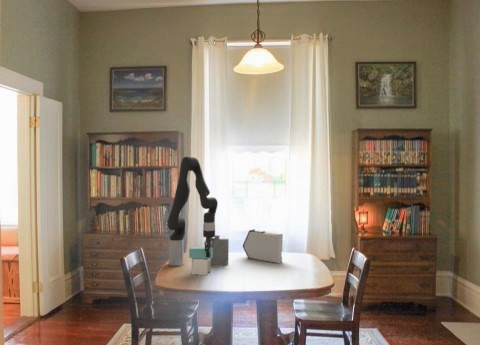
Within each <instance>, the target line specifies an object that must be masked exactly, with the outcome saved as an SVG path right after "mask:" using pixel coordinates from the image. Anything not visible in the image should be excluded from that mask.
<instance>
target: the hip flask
mask: <svg viewBox="0 0 480 345" xmlns="http://www.w3.org/2000/svg"><path fill="white" fill-rule="evenodd" d="M212 238H213V239H214V240H213V257H212V258H211V259H210V266H211V265H212V266H229V247H230V246H229V238H220V235H216V234H215V237H212Z"/></svg>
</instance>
